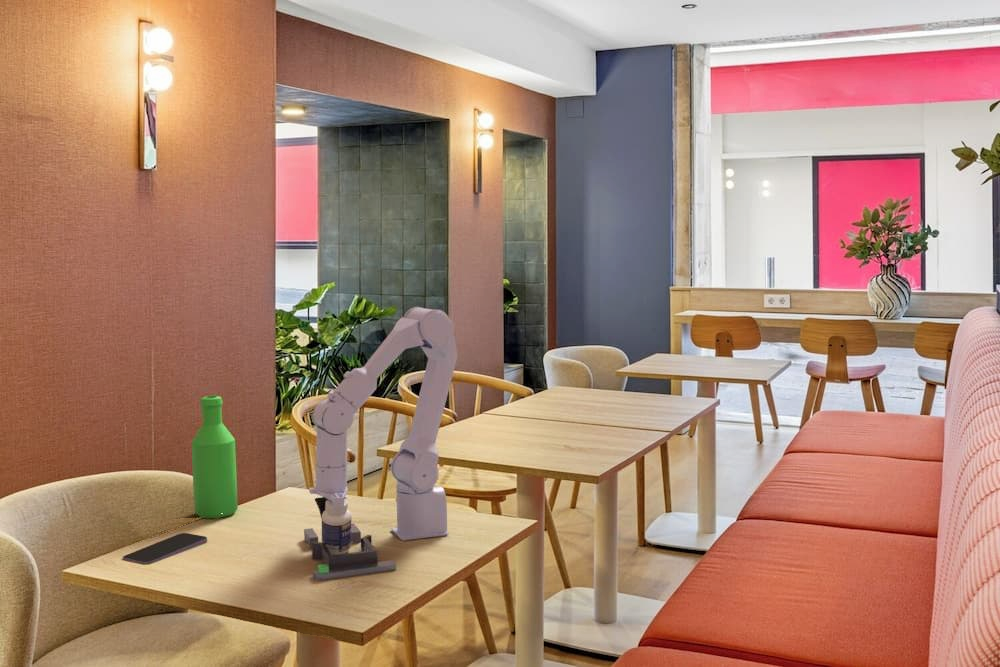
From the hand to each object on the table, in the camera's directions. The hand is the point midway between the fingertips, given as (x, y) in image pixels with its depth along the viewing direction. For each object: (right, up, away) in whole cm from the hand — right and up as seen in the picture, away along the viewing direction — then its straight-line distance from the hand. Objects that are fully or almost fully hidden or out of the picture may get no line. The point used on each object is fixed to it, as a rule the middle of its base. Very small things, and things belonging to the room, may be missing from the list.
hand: (330, 536), depth 183 cm
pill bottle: (+1, -2, -2) cm, 3 cm away
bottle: (-28, 0, +24) cm, 37 cm away
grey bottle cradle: (+5, -3, -9) cm, 10 cm away
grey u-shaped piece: (0, -2, +4) cm, 5 cm away
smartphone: (-31, -3, 0) cm, 31 cm away
